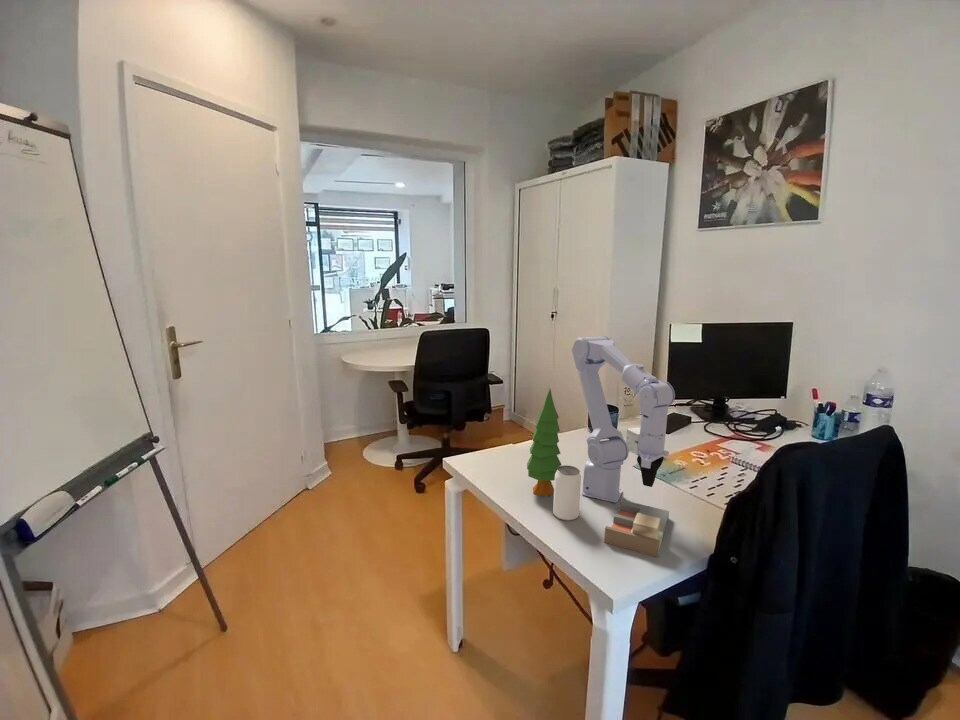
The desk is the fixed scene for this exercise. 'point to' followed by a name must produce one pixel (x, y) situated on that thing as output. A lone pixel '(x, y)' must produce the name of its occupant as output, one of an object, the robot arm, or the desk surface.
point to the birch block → (646, 526)
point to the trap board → (623, 528)
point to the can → (567, 493)
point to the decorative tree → (545, 449)
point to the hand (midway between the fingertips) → (648, 485)
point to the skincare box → (633, 439)
